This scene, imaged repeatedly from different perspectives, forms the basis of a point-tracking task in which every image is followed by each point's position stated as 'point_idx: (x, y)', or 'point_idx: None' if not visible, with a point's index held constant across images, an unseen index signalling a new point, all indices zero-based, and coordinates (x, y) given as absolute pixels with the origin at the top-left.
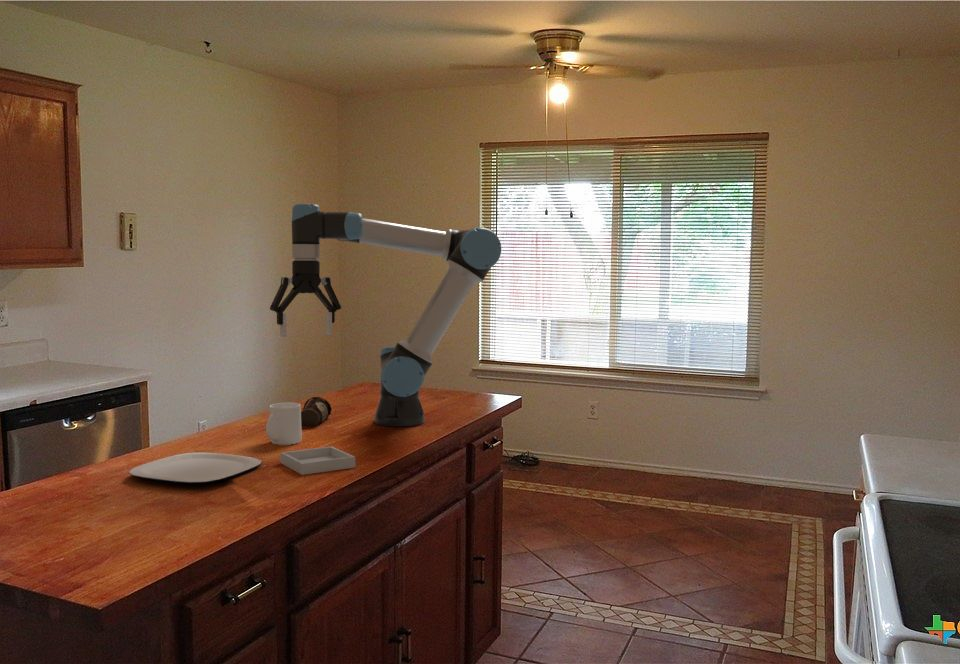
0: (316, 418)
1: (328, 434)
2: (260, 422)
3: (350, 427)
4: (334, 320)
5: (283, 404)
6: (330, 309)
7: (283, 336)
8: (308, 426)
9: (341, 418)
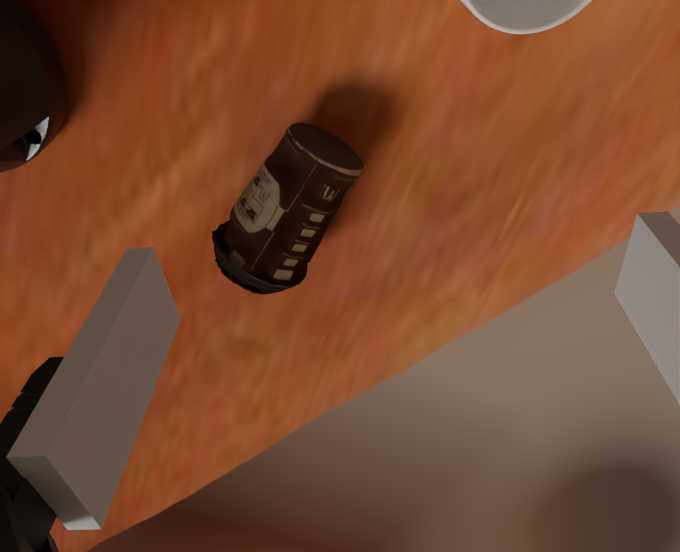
0: (298, 133)
1: (278, 21)
2: (424, 302)
3: (169, 115)
4: (29, 381)
5: (509, 25)
6: (7, 505)
7: (669, 217)
8: (327, 137)
9: (174, 265)
